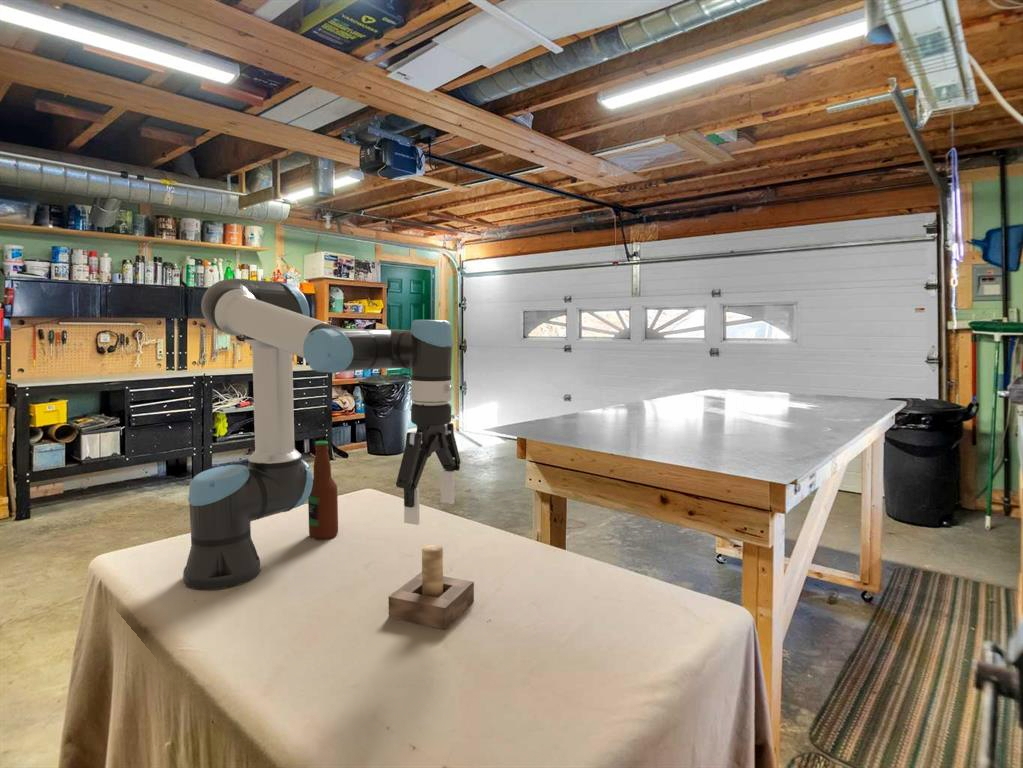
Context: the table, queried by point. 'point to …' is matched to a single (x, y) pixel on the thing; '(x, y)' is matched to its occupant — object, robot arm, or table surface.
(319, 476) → the bottle
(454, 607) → the walnut socket
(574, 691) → the table surface
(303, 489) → the robot arm
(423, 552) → the oak peg
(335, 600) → the table surface
